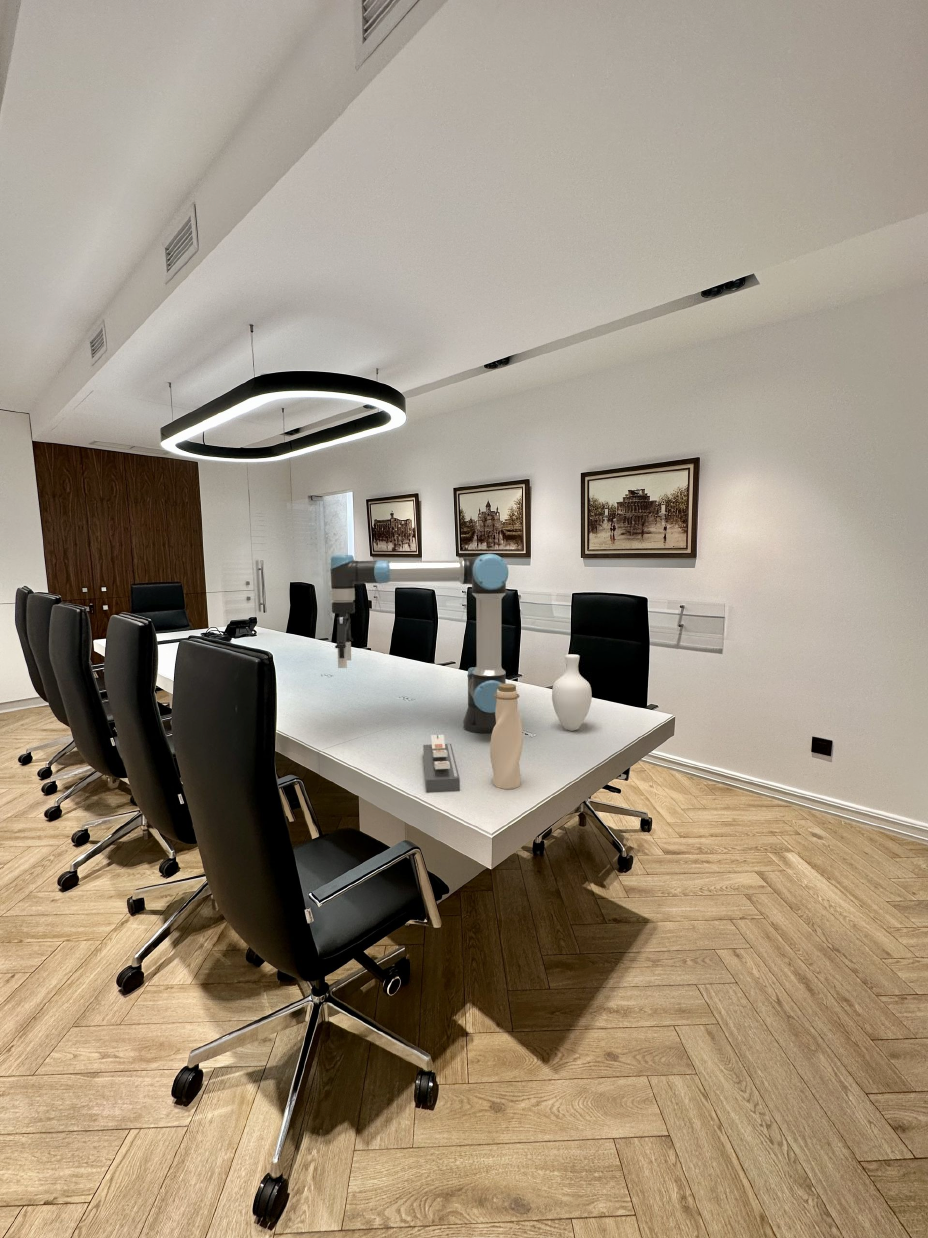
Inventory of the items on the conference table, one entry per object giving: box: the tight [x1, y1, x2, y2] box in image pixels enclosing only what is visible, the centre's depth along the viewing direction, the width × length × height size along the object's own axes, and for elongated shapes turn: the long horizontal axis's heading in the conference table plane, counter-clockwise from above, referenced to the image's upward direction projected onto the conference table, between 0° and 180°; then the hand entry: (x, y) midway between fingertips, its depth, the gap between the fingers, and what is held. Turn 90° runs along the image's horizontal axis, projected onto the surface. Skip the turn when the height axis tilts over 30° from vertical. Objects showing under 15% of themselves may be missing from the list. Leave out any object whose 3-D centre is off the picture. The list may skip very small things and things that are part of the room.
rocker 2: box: [433, 750, 447, 757], centre depth 155 cm, size 4×7×2 cm, turn 6°
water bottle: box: [489, 683, 524, 790], centre depth 146 cm, size 10×9×28 cm
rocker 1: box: [430, 734, 446, 752], centre depth 164 cm, size 4×7×2 cm, turn 6°
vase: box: [551, 653, 593, 732], centre depth 193 cm, size 14×14×28 cm
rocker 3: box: [434, 761, 450, 769], centre depth 146 cm, size 4×7×2 cm, turn 6°
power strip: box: [422, 743, 461, 793], centre depth 159 cm, size 9×37×4 cm, turn 6°
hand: (345, 664), depth 177 cm, fingers open, 13 cm apart
